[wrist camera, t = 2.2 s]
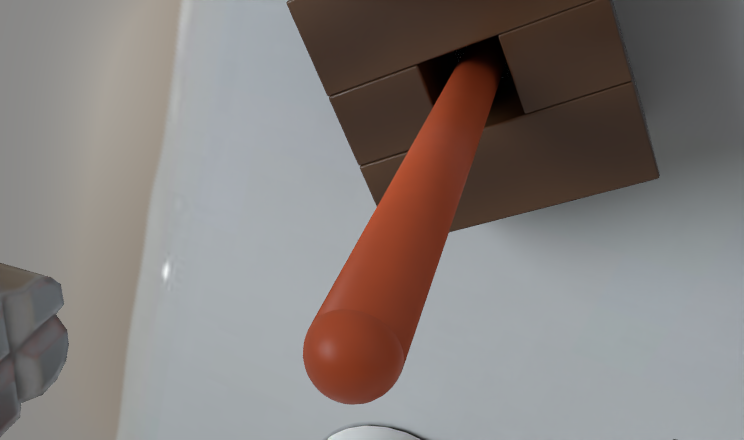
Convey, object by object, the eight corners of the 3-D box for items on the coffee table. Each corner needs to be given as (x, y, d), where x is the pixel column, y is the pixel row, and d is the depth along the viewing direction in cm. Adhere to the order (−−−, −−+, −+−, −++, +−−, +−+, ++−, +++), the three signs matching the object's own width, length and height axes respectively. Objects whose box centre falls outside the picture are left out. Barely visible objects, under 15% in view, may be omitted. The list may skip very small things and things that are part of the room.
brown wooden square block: (336, -25, 25) (284, 2, 20) (576, -130, 21) (575, -125, 17) (422, 185, 28) (394, 247, 23) (646, 120, 24) (660, 179, 20)
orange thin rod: (464, 35, 25) (270, 350, 9) (502, 20, 24) (367, 331, 9) (477, 72, 25) (315, 433, 10) (515, 59, 24) (408, 418, 9)
